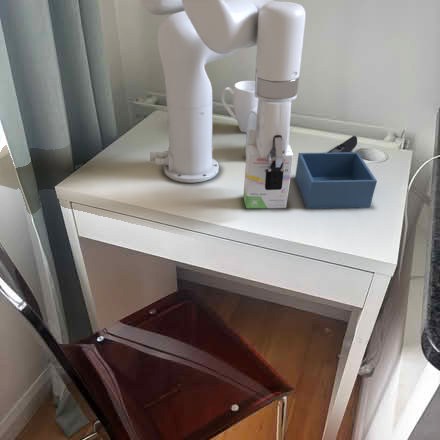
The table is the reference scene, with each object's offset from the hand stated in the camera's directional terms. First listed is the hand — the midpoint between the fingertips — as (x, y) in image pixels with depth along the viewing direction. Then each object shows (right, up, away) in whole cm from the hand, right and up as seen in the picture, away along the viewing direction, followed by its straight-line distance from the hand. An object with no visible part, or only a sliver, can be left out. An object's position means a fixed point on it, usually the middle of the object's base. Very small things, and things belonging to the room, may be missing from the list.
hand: (269, 177), depth 90 cm
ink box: (-1, -4, +4) cm, 6 cm away
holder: (+14, -1, +8) cm, 16 cm away
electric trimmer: (+19, +10, +21) cm, 30 cm away
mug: (-4, +22, +33) cm, 40 cm away
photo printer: (+1, +11, +22) cm, 24 cm away
